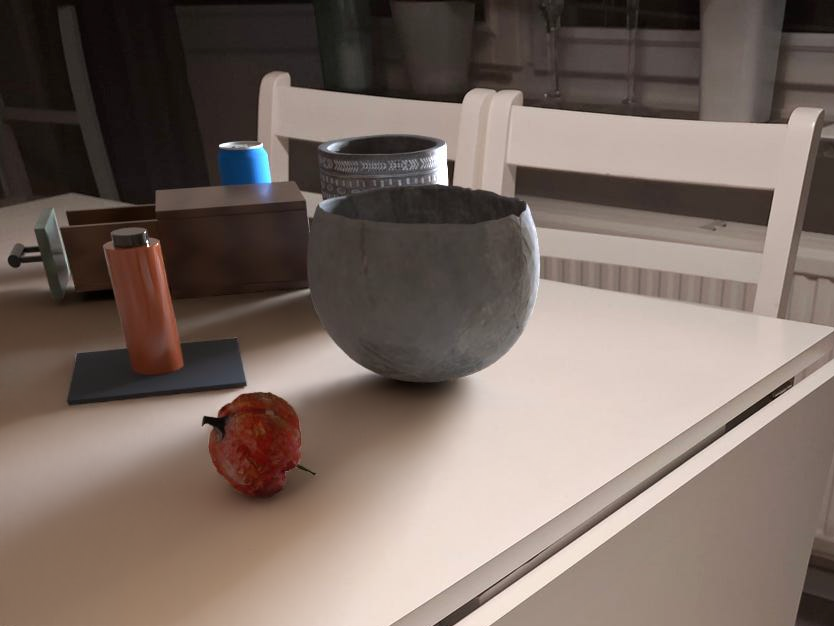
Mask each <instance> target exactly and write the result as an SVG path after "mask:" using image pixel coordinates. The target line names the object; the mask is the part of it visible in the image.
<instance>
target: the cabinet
mask: <svg viewBox="0 0 834 626" xmlns="http://www.w3.org/2000/svg"><path fill="white" fill-rule="evenodd" d="M155 204H156V205H155V212H156V217H157V222H158V227H159V232H160V237H161V242H162V247H163V252H164V257H165V262H166V267H167V272H168V277H169V282H170V284H169V288H170V293H171V298H172V300H177V299H178V300H179V299H188V298H199V297H211V296H212V297H213V296H223V295H235V294H243V293H244V294H245V293H246V294H247V293H255V292H256V293H257V292H269V291H279V290H280V291H281V290H290V289H291V290H292V289H301V288H302V289H303V288H309V282H308V273H307V249H308V241H309V233H310V229H311V228H310V222H309V214H308V203H307V200H306V198H305V196H304V194H303V193H302V191H301V189H300V188H299V186H298V185H297V183H296V181H295V180H287V181H275V182H274V181H273V182H272V181H271V183H256V184H242V185H227V186H222V185H215V186H200V187H187V188H186V187H185V188H184V187H183V188H172V189H157V190H155Z"/></svg>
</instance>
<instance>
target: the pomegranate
mask: <svg viewBox="0 0 834 626" xmlns="http://www.w3.org/2000/svg"><path fill="white" fill-rule="evenodd" d="M300 423H301V422H300V418H299V415H298V413H297V412H296V410H295V408H294V407H293V406H292V405H291V404H289V402H288V401H287V400H286V399H285V398H283V397H281V396H278V395H277V394H274V393H272V392H270V391H268V392H264V391H254V392H247V393H246V392H245V393H241V394H239V395H238V396H236V397H235V398H234V399H233V400H232V401H231V402H228V403H226V404H224V405H222V406H221V407H220V409H218V411H217V416H209V415H203V417H202V421H201V427H204V426H205V425H209V426H211V427H212V429H211V431H210V432H209V435H208V441H207V443H208V444H207V449H208V454H209V457H210V460H211V463H212V466H214V468H215V470H216V472H217V474H219V475H220V476H221V477H222V478H224V480H225V481H227V483H228V484H229V485H230V486H231V487H232V488H233V489H234V490H235V491H237V492H239V493H240V494H242V495H244V496H248V497H249V498H250V497H251V498H272V497H273V496H275V495H277V494H279V493H280V492H282V491H283V490H284V488H285V486H286V482H287V474H286V473H287V472H289V471H292V470H295V469H296V468H297V469H299V470H301V471H303V472H306V473H308V474H310V475H312V476H316V475H317V472H315V471H312V470H311V469H309V468H307V467H305V466H304V465H301V464H299V463H300V462H301V459H302V451H301V446H302V443H303V440H302V439H303V438H302V437H303V436H302V430H301V424H300Z"/></svg>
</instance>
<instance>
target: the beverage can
mask: <svg viewBox="0 0 834 626" xmlns="http://www.w3.org/2000/svg"><path fill="white" fill-rule="evenodd" d="M263 145H264V144H263V142H261V141H255V140H254V141H253V140H242V141H239V140H238V141H230V142H229V141H228V142H225V143H221V144H219V145H218V148H219V152H218V154H217V164H218V170H219V175H220V181H221V186H227V185H242V184H256V183H271V182H272V178H271V171H270V164H269V156H268V153H267V150H265V149H264V147H263Z"/></svg>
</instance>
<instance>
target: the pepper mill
mask: <svg viewBox="0 0 834 626" xmlns="http://www.w3.org/2000/svg"><path fill="white" fill-rule="evenodd" d="M111 238H112V241H110V242H108V243H106V244H104V245H103V250H104V254H105V258H106V262H107V267H108V271H109V275H110V279H111V284H112V288H113V289H112V293H113V296H114V300H115V304H116V308H117V313H118V317H119V322H120V326H121V331H122V335H123V339H124V343H125V344H124V345H125V348H127V352H128V356H129V361H130V365H131V369H132V371H133V372H135V373H137V374H143V375H159V374H165V373H170V372H173V371H176V370H178V369H180V368H182V367H183V366H184V359H183V354H182V349H181V344H180V343H181V340H180V336H179V330H178V329H179V328H178V324H177V319H176V315H175V309H174V305H173V298H172V293H171V288H170V284H168V279H167V274H166V269H165V264H164V259H163V254H162V249H161V244H160V241H159V240H158V239H155V238H149V236H148V232H147V229H144V228H123V229H118V230H114V231H112V232H111Z"/></svg>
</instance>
